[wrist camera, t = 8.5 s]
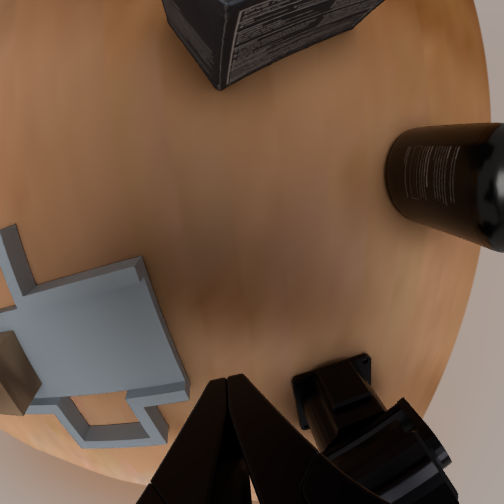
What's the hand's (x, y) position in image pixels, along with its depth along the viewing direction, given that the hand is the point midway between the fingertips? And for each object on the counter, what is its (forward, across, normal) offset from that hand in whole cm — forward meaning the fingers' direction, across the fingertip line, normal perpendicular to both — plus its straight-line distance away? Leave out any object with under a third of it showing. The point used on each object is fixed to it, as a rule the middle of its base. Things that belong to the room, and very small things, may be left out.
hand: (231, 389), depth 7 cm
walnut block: (+11, +20, +4) cm, 23 cm away
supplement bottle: (+12, -15, -2) cm, 19 cm away
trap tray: (+12, +14, +4) cm, 19 cm away
